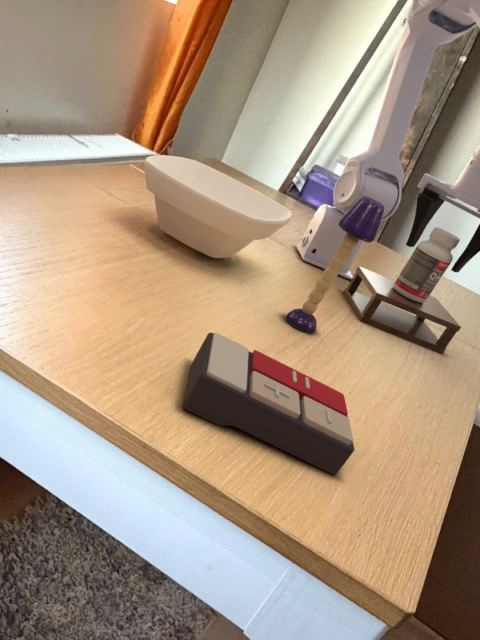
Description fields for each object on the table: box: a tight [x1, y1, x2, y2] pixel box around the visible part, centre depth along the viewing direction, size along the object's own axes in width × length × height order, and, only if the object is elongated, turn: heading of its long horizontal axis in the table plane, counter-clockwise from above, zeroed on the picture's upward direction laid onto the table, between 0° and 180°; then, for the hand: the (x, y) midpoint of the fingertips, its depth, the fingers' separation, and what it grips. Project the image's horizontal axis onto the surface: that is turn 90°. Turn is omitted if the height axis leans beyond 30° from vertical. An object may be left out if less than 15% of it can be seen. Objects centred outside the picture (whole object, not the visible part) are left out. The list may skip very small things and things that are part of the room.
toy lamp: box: [285, 196, 384, 334], centre depth 93 cm, size 5×5×17 cm
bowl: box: [143, 154, 293, 259], centre depth 107 cm, size 21×21×9 cm
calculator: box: [182, 332, 355, 476], centre depth 69 cm, size 11×4×15 cm
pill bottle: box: [393, 226, 461, 303], centre depth 110 cm, size 5×5×10 cm
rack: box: [342, 265, 462, 354], centre depth 114 cm, size 14×12×4 cm
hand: (431, 258), depth 110 cm, fingers open, 7 cm apart
